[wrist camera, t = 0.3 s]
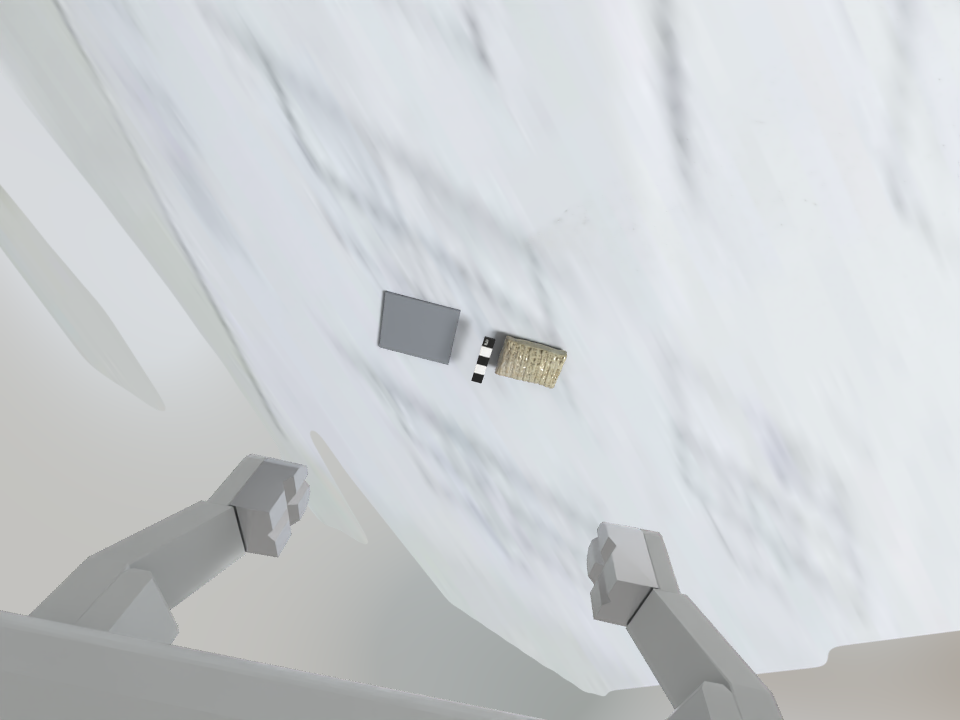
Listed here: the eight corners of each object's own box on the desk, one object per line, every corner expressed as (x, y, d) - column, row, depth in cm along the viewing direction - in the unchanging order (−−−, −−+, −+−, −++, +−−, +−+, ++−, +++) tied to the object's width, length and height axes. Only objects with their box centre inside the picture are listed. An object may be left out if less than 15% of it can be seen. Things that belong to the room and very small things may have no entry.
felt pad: (386, 291, 55) (385, 292, 55) (460, 310, 55) (459, 311, 55) (380, 345, 60) (379, 347, 59) (448, 363, 60) (447, 364, 60)
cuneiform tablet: (484, 336, 52) (572, 360, 53) (487, 322, 56) (568, 345, 56) (471, 380, 55) (553, 402, 56) (474, 364, 59) (551, 385, 60)
